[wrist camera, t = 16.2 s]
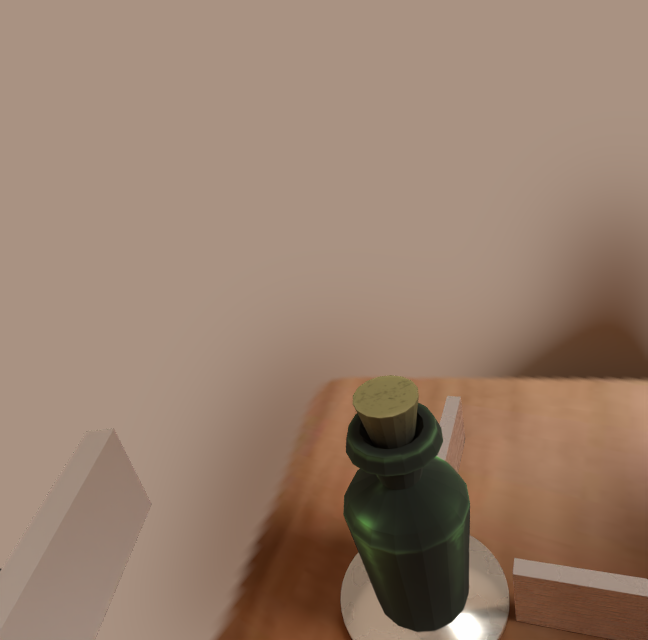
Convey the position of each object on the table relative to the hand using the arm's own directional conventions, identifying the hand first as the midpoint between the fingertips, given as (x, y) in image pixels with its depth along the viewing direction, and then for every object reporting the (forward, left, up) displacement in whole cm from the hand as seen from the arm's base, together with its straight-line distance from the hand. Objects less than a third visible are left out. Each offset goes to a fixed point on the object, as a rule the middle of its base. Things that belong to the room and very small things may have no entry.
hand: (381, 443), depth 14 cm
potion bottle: (-8, -14, -30) cm, 34 cm away
